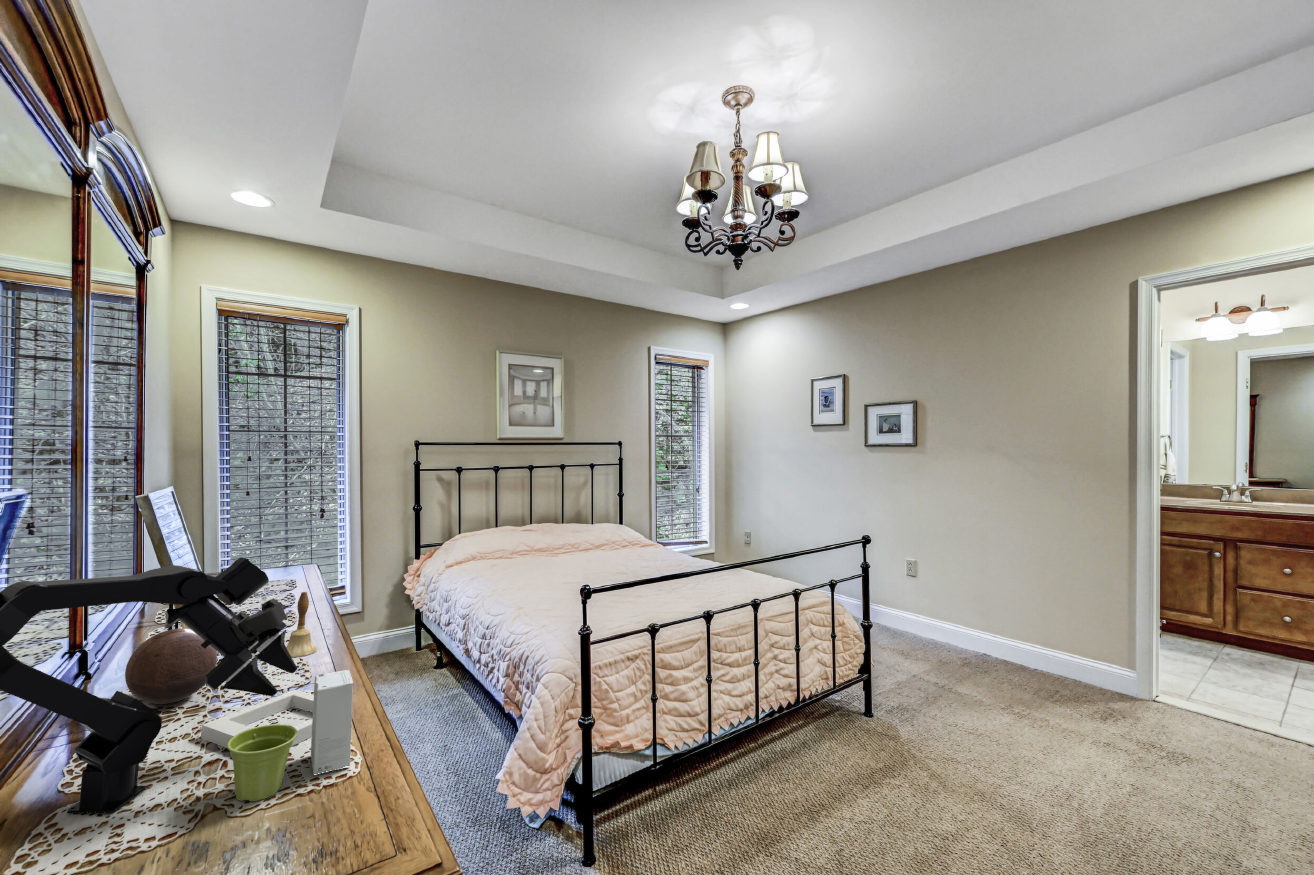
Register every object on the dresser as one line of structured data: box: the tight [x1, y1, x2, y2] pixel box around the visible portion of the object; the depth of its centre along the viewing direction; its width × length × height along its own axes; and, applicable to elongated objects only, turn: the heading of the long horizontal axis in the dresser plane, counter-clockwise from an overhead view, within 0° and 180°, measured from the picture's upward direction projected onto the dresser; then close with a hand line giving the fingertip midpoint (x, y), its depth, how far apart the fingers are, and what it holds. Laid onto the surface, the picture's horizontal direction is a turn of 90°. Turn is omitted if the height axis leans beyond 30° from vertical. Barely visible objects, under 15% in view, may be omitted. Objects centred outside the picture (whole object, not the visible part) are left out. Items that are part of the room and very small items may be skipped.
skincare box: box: [310, 669, 354, 776], centre depth 103 cm, size 8×6×15 cm
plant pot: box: [227, 723, 297, 802], centre depth 93 cm, size 9×9×9 cm
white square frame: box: [200, 689, 314, 749], centre depth 113 cm, size 18×17×2 cm
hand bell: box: [285, 591, 318, 658], centre depth 154 cm, size 8×8×16 cm
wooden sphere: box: [124, 628, 218, 705], centre depth 122 cm, size 15×15×15 cm
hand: (285, 682), depth 103 cm, fingers open, 9 cm apart
